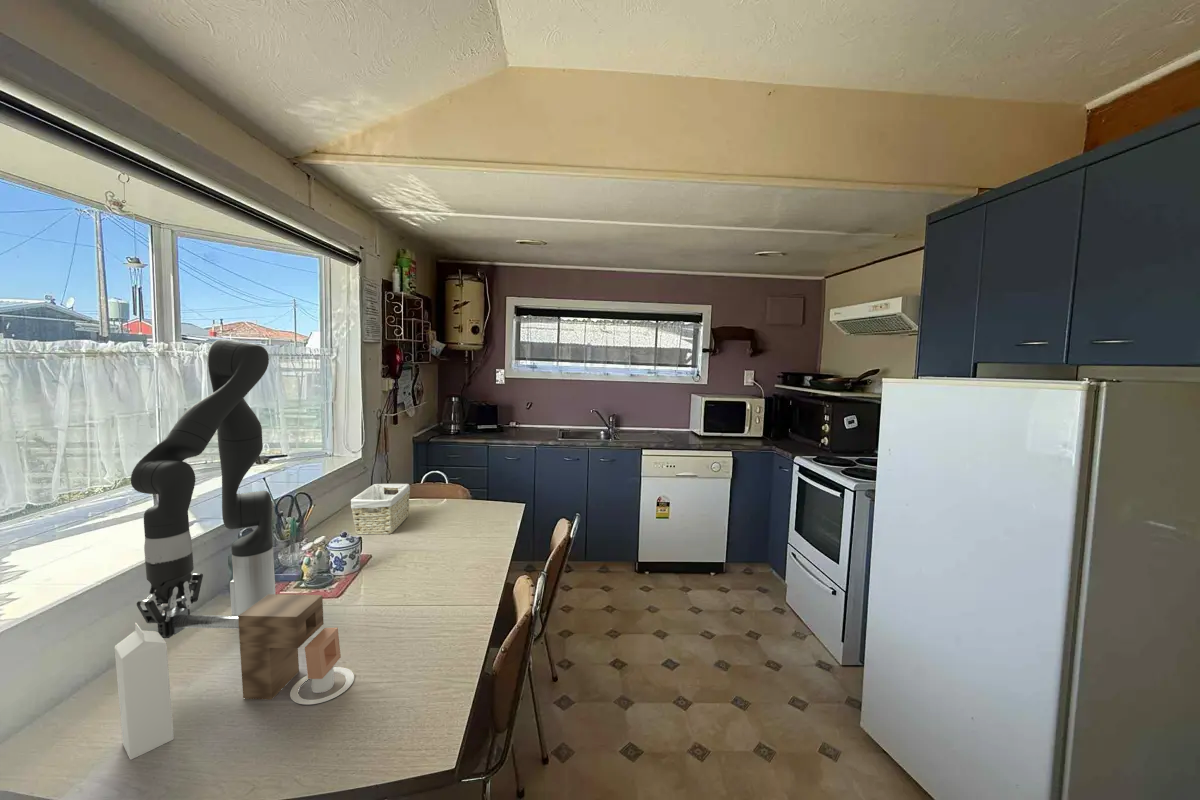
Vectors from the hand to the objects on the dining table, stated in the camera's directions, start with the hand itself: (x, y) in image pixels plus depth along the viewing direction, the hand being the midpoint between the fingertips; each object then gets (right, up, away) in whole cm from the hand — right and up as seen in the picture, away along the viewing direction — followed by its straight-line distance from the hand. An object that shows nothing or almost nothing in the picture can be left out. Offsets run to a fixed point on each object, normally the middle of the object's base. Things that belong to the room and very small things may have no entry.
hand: (175, 631), depth 105 cm
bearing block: (+23, -12, +1) cm, 26 cm away
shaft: (+13, 0, 0) cm, 13 cm away
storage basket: (+1, -3, +99) cm, 99 cm away
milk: (+8, -13, -15) cm, 22 cm away
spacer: (+32, -8, +1) cm, 33 cm away
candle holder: (+31, -13, +1) cm, 34 cm away
